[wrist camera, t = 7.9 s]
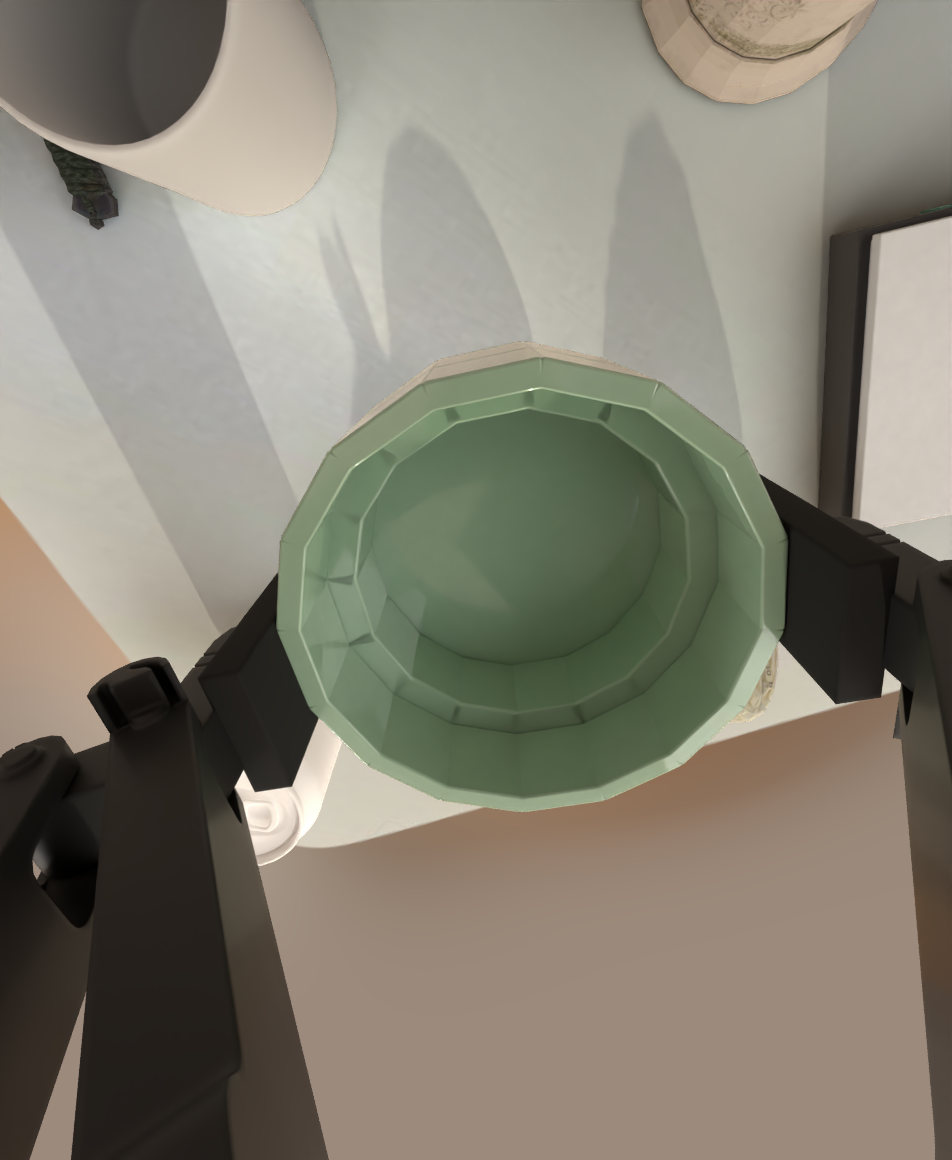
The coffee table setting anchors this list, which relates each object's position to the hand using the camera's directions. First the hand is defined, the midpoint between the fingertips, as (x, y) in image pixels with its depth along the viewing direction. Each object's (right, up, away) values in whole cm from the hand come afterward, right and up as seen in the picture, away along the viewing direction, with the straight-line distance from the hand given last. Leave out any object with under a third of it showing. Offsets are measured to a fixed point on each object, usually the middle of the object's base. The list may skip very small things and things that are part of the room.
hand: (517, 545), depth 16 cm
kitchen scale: (+22, +10, +13) cm, 28 cm away
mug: (-12, +21, +8) cm, 25 cm away
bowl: (0, 0, 0) cm, 0 cm away
